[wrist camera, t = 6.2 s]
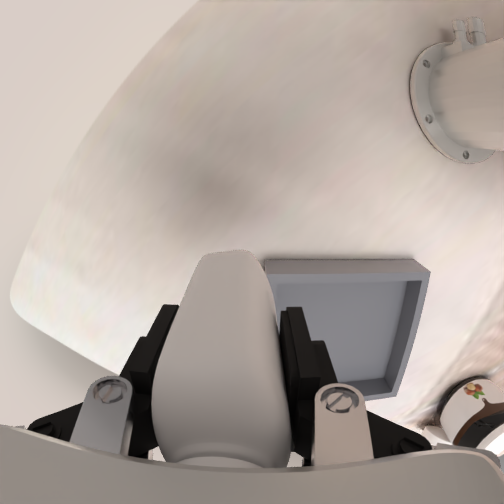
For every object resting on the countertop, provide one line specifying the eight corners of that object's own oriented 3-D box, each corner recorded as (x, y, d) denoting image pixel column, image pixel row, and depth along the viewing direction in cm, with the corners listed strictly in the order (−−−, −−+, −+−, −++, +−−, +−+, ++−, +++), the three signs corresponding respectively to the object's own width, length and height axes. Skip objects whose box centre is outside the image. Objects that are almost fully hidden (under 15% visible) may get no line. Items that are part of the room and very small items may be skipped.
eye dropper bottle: (172, 339, 15) (94, 586, 3) (209, 232, 13) (78, 559, 1) (257, 367, 15) (263, 615, 4) (307, 269, 13) (419, 572, 2)
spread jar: (493, 369, 35) (533, 415, 24) (467, 420, 38) (496, 466, 27) (434, 384, 34) (473, 443, 23) (410, 437, 38) (436, 492, 27)
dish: (264, 259, 29) (266, 274, 25) (413, 259, 29) (430, 271, 26) (261, 386, 33) (262, 408, 30) (386, 377, 33) (396, 396, 30)
